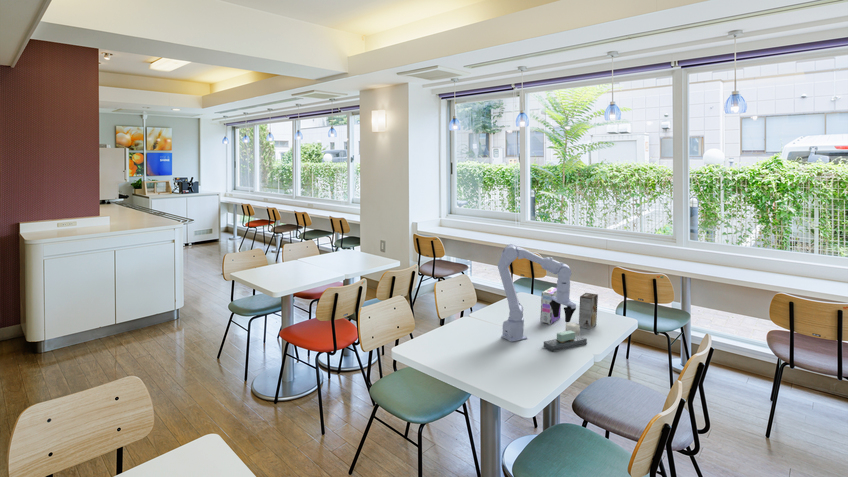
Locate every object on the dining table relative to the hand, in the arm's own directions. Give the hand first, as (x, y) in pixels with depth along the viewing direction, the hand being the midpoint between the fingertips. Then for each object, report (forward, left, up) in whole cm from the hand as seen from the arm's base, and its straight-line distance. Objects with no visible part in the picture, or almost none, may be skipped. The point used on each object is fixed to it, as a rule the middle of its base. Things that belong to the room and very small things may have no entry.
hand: (561, 319), depth 213 cm
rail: (-2, -5, -10) cm, 12 cm away
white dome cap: (+11, +4, -10) cm, 16 cm away
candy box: (+16, +25, -11) cm, 32 cm away
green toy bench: (-2, -5, -10) cm, 12 cm away
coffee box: (+27, +10, -11) cm, 31 cm away
